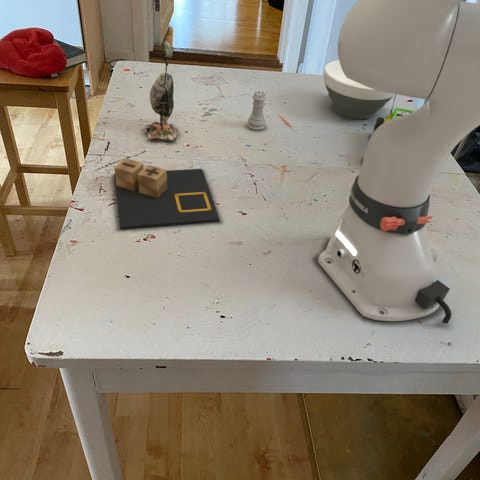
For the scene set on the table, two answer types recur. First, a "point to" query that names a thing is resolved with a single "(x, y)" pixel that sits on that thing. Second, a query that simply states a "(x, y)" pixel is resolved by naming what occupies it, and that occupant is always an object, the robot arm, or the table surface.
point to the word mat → (168, 203)
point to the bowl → (352, 94)
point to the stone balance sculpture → (163, 102)
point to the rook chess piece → (257, 112)
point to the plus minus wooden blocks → (141, 177)
